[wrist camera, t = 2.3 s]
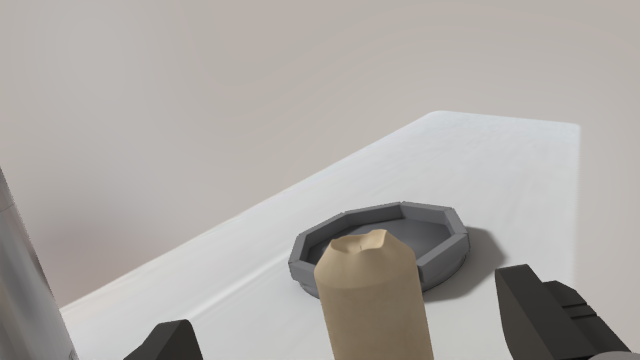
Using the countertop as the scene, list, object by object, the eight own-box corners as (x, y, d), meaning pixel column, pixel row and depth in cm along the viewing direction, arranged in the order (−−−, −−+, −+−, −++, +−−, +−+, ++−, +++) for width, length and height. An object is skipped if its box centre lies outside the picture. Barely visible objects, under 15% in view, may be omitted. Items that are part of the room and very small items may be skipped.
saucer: (286, 316, 38) (278, 289, 37) (307, 239, 53) (302, 219, 52) (486, 286, 35) (482, 257, 35) (448, 214, 51) (445, 193, 50)
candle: (423, 353, 30) (396, 209, 27) (454, 416, 24) (423, 244, 22) (340, 373, 30) (305, 231, 27) (352, 441, 24) (310, 271, 22)
